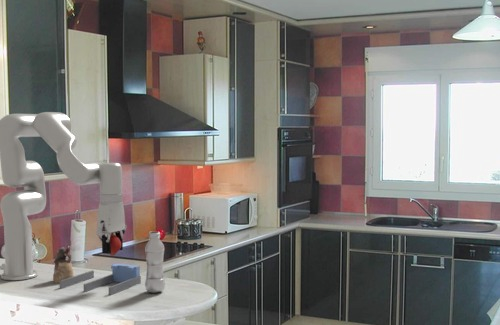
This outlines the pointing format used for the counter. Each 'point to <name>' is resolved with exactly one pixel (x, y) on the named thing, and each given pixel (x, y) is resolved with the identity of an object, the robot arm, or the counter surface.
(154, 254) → the plastic bottle
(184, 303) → the counter surface
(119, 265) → the blue bracket
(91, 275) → the grey parallel strips
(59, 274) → the painted ceramic spouted vessel
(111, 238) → the pomegranate
